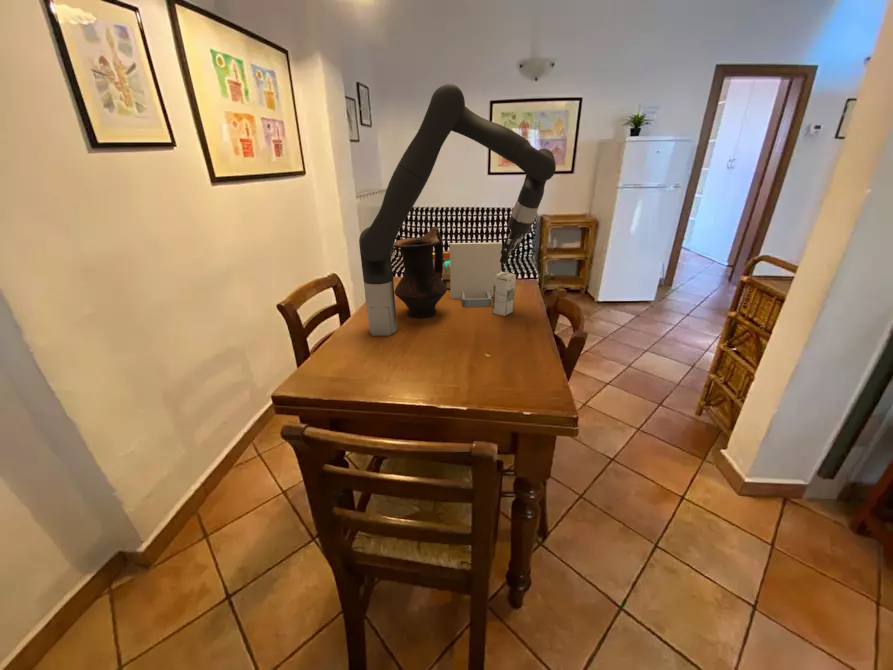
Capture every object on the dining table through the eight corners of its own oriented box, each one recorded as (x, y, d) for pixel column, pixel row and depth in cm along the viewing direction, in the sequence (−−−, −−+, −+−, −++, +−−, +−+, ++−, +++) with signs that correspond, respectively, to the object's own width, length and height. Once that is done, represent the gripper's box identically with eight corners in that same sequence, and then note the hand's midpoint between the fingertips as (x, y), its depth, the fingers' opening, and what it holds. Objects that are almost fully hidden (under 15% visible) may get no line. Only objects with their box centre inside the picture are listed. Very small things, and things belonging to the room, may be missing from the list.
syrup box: (500, 308, 140) (502, 271, 134) (513, 312, 137) (516, 273, 131) (491, 313, 136) (493, 274, 130) (505, 316, 133) (508, 277, 127)
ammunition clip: (442, 290, 161) (441, 263, 156) (442, 289, 163) (442, 262, 158) (466, 291, 160) (466, 264, 154) (467, 290, 161) (467, 262, 156)
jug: (424, 329, 124) (420, 238, 111) (385, 317, 134) (378, 232, 121) (461, 310, 139) (461, 228, 126) (423, 301, 149) (420, 224, 137)
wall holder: (503, 306, 143) (506, 248, 133) (451, 307, 143) (450, 249, 133) (498, 296, 153) (501, 242, 144) (450, 296, 153) (449, 243, 144)
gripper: (520, 204, 126) (505, 245, 137) (504, 218, 116) (489, 261, 127) (540, 213, 124) (523, 254, 135) (526, 228, 114) (509, 271, 126)
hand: (507, 257), depth 131 cm, fingers open, 8 cm apart
